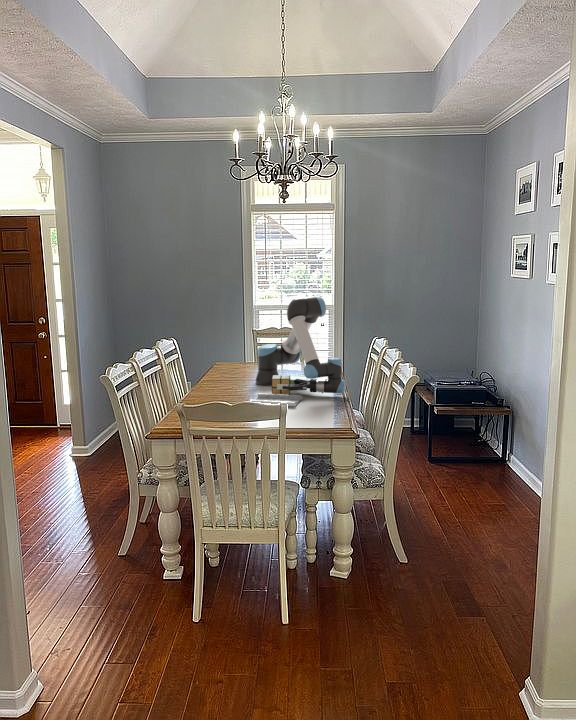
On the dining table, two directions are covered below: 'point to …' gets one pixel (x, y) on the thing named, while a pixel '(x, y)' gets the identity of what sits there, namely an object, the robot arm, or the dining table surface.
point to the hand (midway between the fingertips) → (279, 384)
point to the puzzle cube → (280, 380)
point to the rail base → (278, 399)
